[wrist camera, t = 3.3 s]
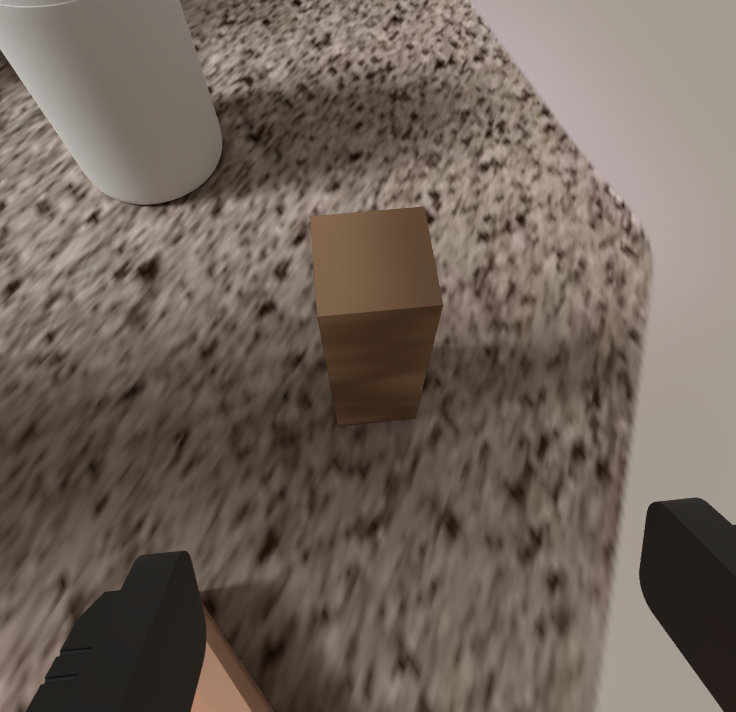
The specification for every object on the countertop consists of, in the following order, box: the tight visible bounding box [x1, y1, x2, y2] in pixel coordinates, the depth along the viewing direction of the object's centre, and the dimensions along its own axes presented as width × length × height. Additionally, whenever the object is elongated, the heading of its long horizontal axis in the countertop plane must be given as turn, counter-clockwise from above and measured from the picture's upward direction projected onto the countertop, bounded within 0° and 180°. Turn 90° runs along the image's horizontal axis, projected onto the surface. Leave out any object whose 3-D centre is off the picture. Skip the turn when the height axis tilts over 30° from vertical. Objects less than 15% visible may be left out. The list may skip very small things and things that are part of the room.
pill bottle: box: [0, 0, 222, 205], centre depth 24 cm, size 8×8×15 cm
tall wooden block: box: [310, 207, 443, 426], centre depth 20 cm, size 4×4×10 cm
